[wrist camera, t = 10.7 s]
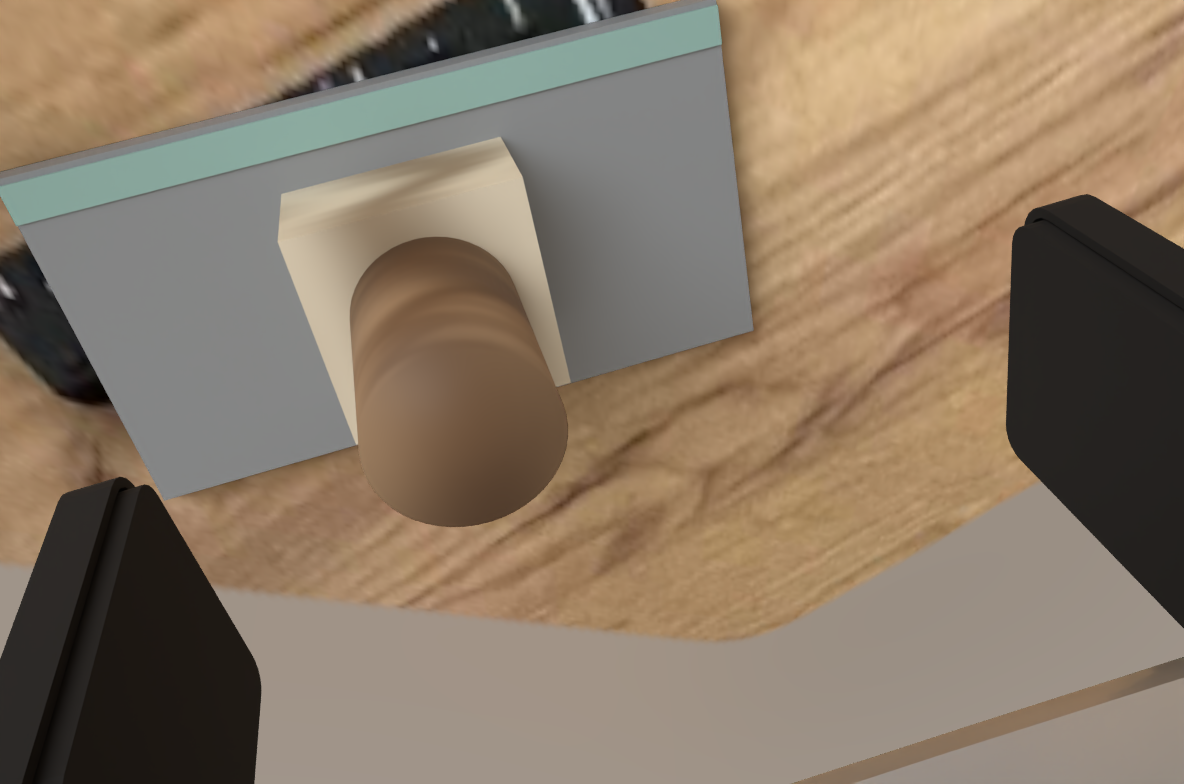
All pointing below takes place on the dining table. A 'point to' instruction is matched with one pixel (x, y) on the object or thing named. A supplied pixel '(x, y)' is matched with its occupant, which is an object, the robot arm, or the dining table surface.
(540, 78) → the slate board
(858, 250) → the dining table surface
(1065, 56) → the dining table surface
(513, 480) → the walnut drum
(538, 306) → the birch pedestal
